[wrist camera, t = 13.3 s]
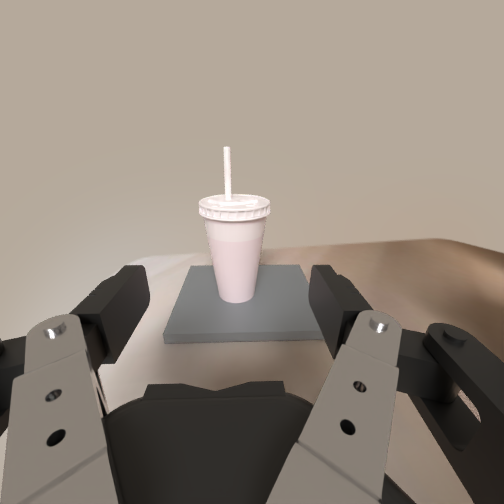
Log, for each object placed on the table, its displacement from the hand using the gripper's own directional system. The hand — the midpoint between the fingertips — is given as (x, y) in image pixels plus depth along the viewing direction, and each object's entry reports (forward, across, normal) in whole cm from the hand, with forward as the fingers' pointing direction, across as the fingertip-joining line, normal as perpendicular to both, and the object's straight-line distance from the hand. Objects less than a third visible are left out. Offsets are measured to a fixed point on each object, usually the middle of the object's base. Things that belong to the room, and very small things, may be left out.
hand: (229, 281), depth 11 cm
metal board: (+11, -1, +9) cm, 14 cm away
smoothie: (+11, 0, +8) cm, 14 cm away
